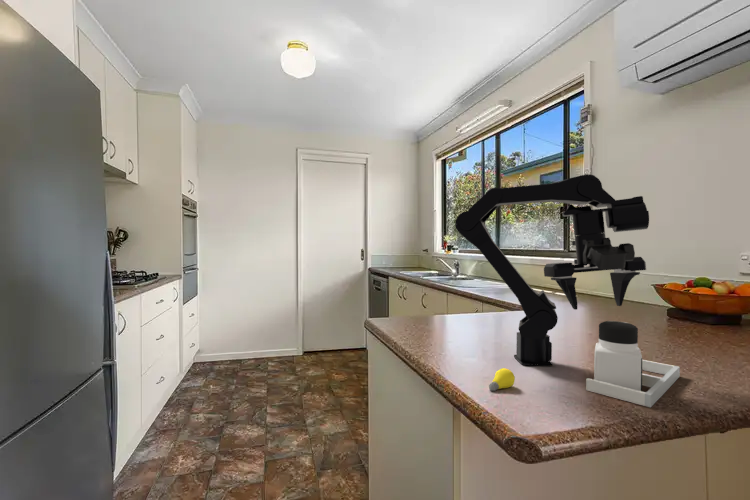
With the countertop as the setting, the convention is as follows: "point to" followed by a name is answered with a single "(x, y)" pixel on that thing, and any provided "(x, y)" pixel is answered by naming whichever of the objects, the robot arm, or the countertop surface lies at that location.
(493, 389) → the light bulb
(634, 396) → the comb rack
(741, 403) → the countertop surface
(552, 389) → the countertop surface
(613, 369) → the medicine bottle
